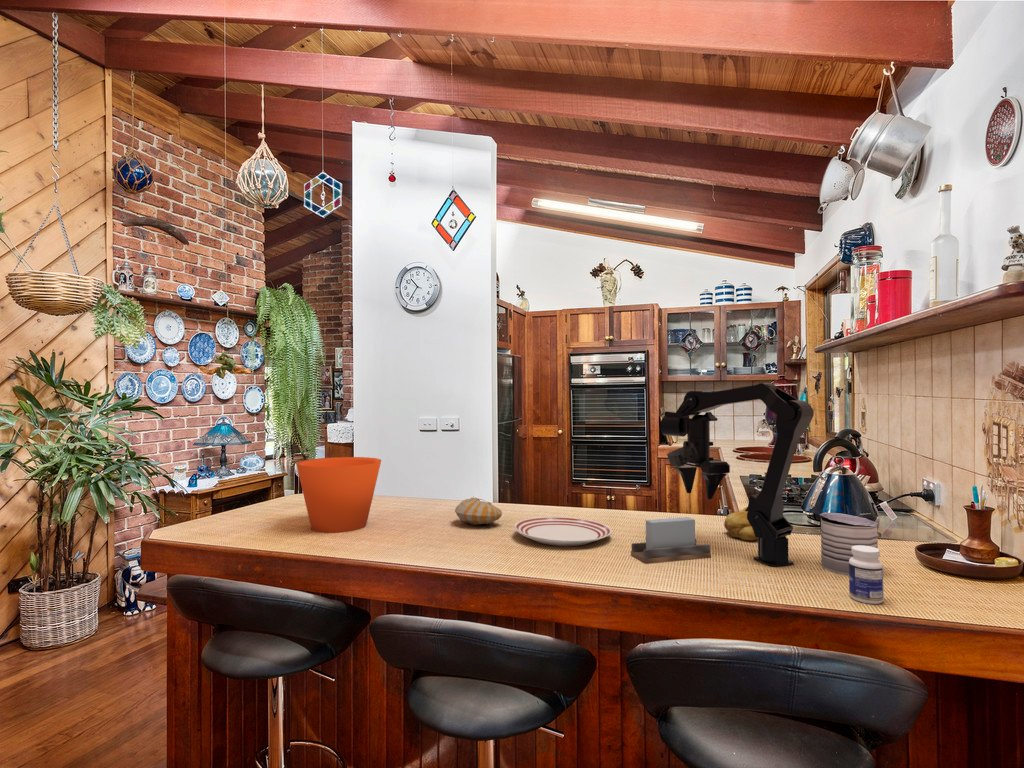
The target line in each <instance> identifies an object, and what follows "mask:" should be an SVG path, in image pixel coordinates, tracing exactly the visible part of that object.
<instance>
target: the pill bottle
mask: <svg viewBox="0 0 1024 768" xmlns="http://www.w3.org/2000/svg"><path fill="white" fill-rule="evenodd" d="M880 552H881V551H880V549H879V548H878V549H877V548H875V547H871V546H864V545H856V546H852V548H851V553H852V554H853V557H851V558H850V560H849V575H848V584H849V585H848V587H849V588H848V589H849V590H848V591H849V593H848V594H849V597H850V598H851V599H853V600H855V601H857V602H859V603H860V602H861V603H864V604H869V605H877V604H881V603H884V600H885V593H884V587H885V586H884V585H885V584H884V565H883V563H882V562H881V561H880V560H879V558H880V556H881V553H880Z"/></svg>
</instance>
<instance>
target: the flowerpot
mask: <svg viewBox="0 0 1024 768" xmlns="http://www.w3.org/2000/svg"><path fill="white" fill-rule="evenodd" d="M381 463H382V459H381V458H376V457H364V456H342V457H341V456H336V457H335V456H334V457H321V458H318V457H317V458H310V459H305V460H300V461H297V462H295V464H296V465H295V466H296V469H297V475H298V478H299V481H300V484H301V485H300V487H301V490H302V494H303V498H304V503H305V507H306V511H307V515H308V519H309V523H310V524H309V525H310V528H311V530H312V531H314V532H316V533H324V534H336V533H348V532H353V531H359V530H362V529H363V528H365V527H366V526H367V524H368V520H369V515H370V510H371V506H372V503H373V499H374V498H373V497H374V495H375V490H376V489H375V488H376V485H377V481H378V477H379V476H378V475H379V472H380V467H381V465H382V464H381Z"/></svg>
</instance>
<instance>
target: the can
mask: <svg viewBox="0 0 1024 768" xmlns="http://www.w3.org/2000/svg"><path fill="white" fill-rule="evenodd" d="M818 515H819V516H821V517H820V546H821V547H820V550H821V551H820V554H821V556H820V558H821V561H820V562H821V563H820V564H821V567H822V568H823V569H824V570H827V571H829V572H832V573H835V574H837V575H838V574H839V575H843V576H844V575H845V576H849V560H850V558H851V557H853V554H852V553H851V548H852V546H856V545H864V546H871V547H875V548H877V549H879V548H878V547H879V546H878V545H879V544H878V543H879V542H878V541H879V540H878V537H879V536H878V524H879V523H878V522H875V521H873V520H871V519H868V518H865V517H861V516H857V515H850V514H845V513H838V512H837V513H836V512H822V513H820V514H818Z"/></svg>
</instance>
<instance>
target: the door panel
mask: <svg viewBox="0 0 1024 768" xmlns="http://www.w3.org/2000/svg"><path fill="white" fill-rule="evenodd" d="M695 539H696V519H694V518H691V517H688V516H687V517H686V516H685V517H673V518H672V517H670V518H659V519H657V518H656V519H646V520H645V542H646V549H658V548H669V547H681V546H692V545H695Z"/></svg>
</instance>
